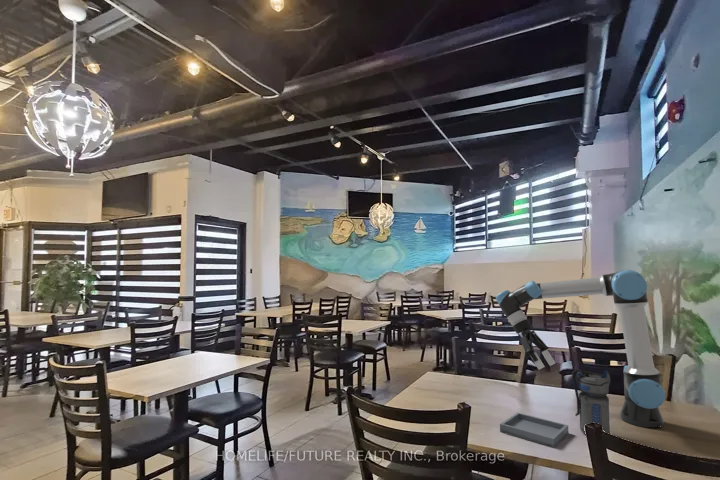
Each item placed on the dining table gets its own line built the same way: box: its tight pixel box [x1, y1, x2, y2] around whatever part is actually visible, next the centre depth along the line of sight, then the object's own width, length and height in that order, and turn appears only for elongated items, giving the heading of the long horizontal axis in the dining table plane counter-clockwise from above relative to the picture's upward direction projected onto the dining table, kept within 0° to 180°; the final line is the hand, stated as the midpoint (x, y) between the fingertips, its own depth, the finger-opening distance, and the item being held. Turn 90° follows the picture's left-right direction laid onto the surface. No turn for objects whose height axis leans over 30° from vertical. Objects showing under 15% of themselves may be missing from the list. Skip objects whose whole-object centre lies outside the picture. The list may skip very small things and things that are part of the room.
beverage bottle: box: [571, 368, 611, 435], centre depth 158 cm, size 10×13×25 cm
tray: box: [499, 412, 569, 449], centre depth 158 cm, size 20×18×3 cm
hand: (547, 366), depth 173 cm, fingers open, 13 cm apart
